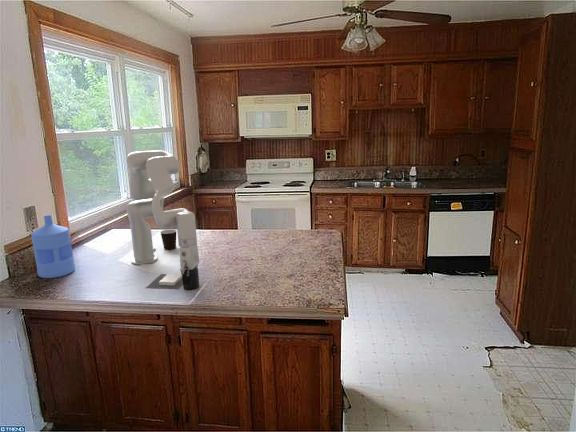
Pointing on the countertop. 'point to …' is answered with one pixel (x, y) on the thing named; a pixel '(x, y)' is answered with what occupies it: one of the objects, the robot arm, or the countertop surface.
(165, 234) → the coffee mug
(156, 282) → the mat
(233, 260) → the countertop surface
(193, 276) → the supplement bottle
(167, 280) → the block
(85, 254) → the countertop surface
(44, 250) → the water jug
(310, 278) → the countertop surface
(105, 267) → the countertop surface
